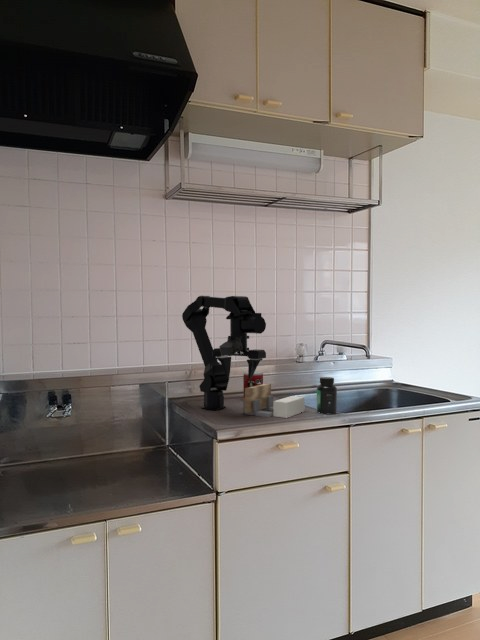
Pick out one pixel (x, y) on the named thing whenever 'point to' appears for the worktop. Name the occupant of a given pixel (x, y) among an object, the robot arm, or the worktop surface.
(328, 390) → the supplement bottle
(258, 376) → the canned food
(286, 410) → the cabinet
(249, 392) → the door panel
